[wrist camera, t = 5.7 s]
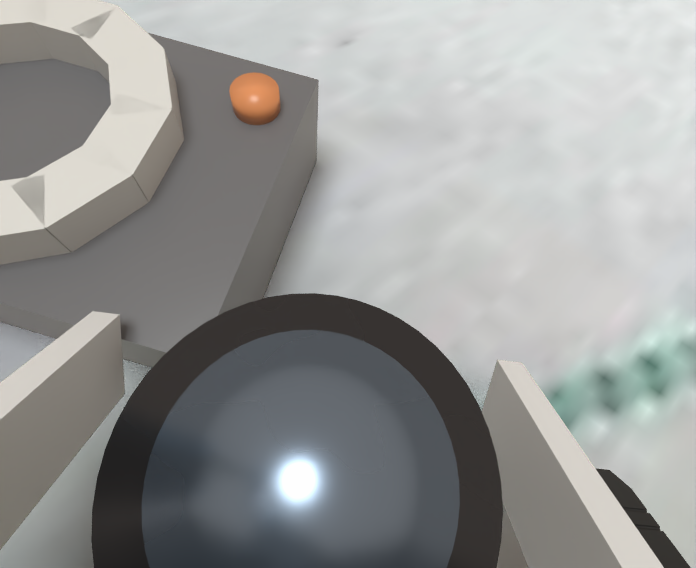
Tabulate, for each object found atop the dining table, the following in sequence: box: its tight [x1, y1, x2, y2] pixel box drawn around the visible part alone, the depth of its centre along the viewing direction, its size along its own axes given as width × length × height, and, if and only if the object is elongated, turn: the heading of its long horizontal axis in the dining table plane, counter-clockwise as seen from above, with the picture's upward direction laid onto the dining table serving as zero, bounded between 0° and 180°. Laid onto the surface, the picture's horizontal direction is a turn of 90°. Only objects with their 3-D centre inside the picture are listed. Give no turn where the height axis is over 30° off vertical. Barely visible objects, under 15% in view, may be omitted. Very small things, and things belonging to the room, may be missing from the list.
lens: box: [92, 294, 503, 568], centre depth 11 cm, size 5×5×12 cm
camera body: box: [0, 0, 318, 368], centre depth 17 cm, size 18×12×7 cm, turn 74°
